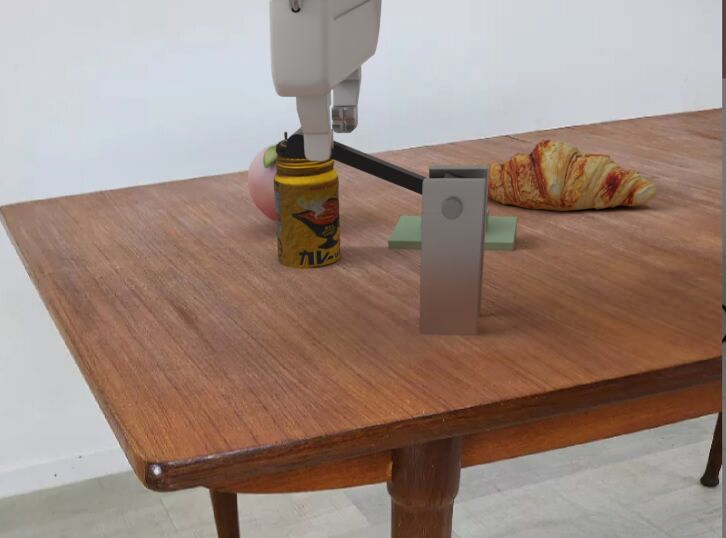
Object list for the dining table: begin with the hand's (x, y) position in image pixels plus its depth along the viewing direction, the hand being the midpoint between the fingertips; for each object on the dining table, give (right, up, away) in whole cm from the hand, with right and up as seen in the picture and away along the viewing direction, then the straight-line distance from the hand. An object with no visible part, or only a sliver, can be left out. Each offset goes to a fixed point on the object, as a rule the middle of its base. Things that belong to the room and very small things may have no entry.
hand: (333, 144), depth 70 cm
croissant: (+27, +10, +38) cm, 48 cm away
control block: (+13, +1, +26) cm, 29 cm away
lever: (+3, -3, +1) cm, 4 cm away
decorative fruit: (-4, +6, +36) cm, 36 cm away
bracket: (+10, -13, +6) cm, 17 cm away
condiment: (-2, -3, +23) cm, 23 cm away
